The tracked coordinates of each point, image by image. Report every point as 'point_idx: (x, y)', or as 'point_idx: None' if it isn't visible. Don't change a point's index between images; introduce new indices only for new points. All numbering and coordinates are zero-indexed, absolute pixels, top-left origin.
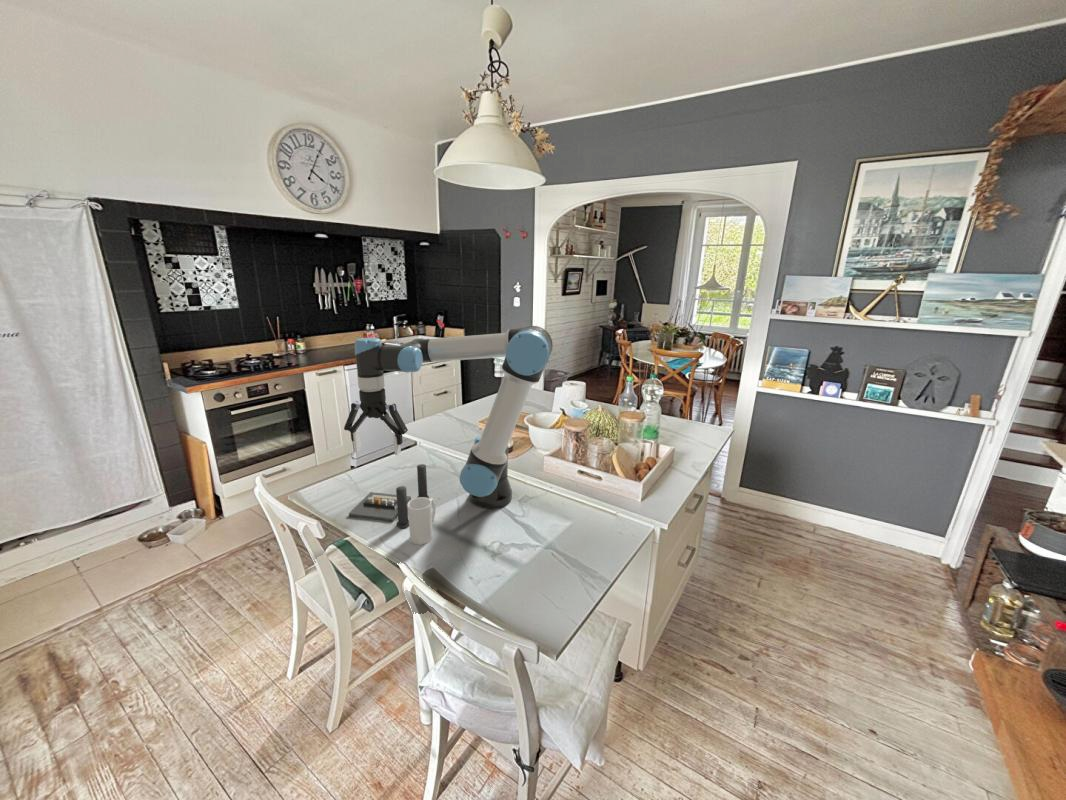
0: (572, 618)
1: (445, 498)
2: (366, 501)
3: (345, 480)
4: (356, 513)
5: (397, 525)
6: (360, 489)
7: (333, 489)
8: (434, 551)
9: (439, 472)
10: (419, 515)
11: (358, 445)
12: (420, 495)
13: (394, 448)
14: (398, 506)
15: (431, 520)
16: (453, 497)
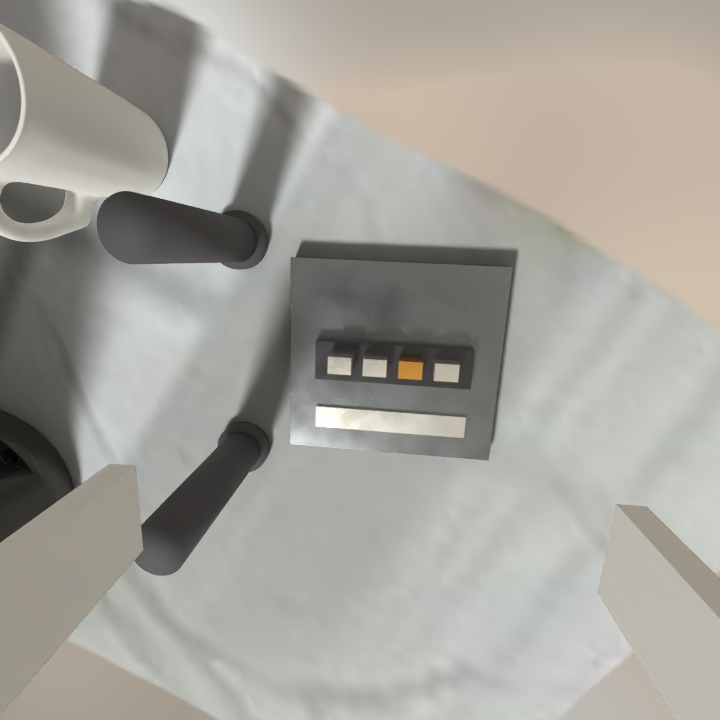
0: None
1: (160, 461)
2: (465, 365)
3: None
4: (474, 271)
5: (253, 216)
6: (554, 495)
7: (687, 483)
8: None
9: (267, 653)
10: None
11: (649, 598)
12: (237, 440)
13: (73, 513)
14: (200, 209)
15: (7, 138)
16: None
